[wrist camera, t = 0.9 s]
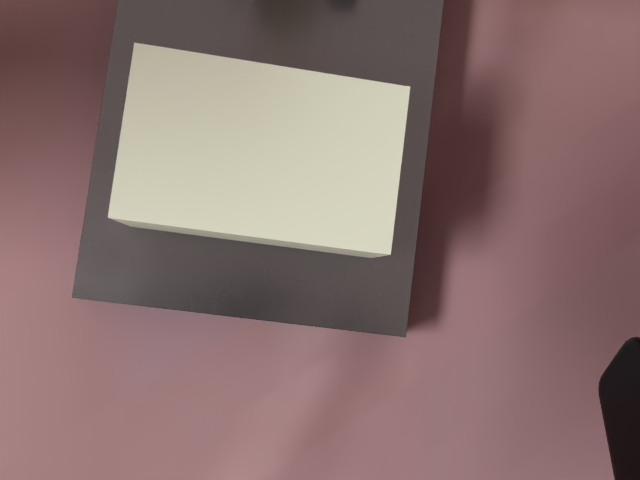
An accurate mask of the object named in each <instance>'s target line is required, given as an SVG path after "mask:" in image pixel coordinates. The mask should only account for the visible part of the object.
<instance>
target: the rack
mask: <svg viewBox="0 0 640 480" xmlns="http://www.w3.org/2000/svg"><path fill="white" fill-rule="evenodd" d="M443 5H444V0H118V4H117V10H116V16H115V23H114V29H113V36H112V42H111V49H110V55H109V61H108V68H107V74H106V81H105V87H104V94H103V100H102V106H101V113H100V119H99V126H98V132H97V139H96V145H95V151H94V158H93V164H92V171H91V177H90V184H89V190H88V196H87V203H86V209H85V216H84V222H83V229H82V235H81V241H80V248H79V254H78V261H77V267H76V274H75V280H74V286H73V293H72V298H79V299H87V300H96V301H104V302H113V303H121V304H130V305H138V306H146V307H155V308H163V309H172V310H180V311H189V312H197V313H206V314H214V315H222V316H231V317H239V318H248V319H256V320H265V321H273V322H282V323H290V324H298V325H307V326H315V327H324V328H332V329H341V330H349V331H358V332H366V333H374V334H383V335H391V336H400V337H406V331H407V322H408V314H409V305H410V296H411V287H412V278H413V269H414V261H415V252H416V243H417V234H418V225H419V216H420V208H421V199H422V190H423V181H424V172H425V164H426V155H427V146H428V137H429V128H430V119H431V111H432V102H433V93H434V84H435V75H436V66H437V58H438V49H439V40H440V31H441V22H442V13H443ZM134 43H140V44H147V45H153V46H159V47H165V48H172V49H178V50H184V51H190V52H197V53H203V54H209V55H215V56H222V57H228V58H234V59H240V60H247V61H253V62H259V63H265V64H272V65H278V66H284V67H290V68H297V69H303V70H309V71H315V72H321V73H328V74H334V75H340V76H346V77H353V78H359V79H365V80H371V81H378V82H384V83H390V84H396V85H403V86H409V87H410V94H409V102H408V111H407V120H406V128H405V137H404V145H403V154H402V163H401V171H400V180H399V188H398V197H397V206H396V214H395V223H394V231H393V240H392V249H391V255H387V256H381V257H375V258H366V257H359V256H351V255H344V254H336V253H328V252H321V251H313V250H305V249H298V248H290V247H282V246H275V245H267V244H259V243H252V242H244V241H236V240H229V239H221V238H214V237H206V236H198V235H191V234H183V233H175V232H168V231H160V230H152V229H145V228H137V227H130V226H128V225H125V224H123V223H120V222H118V221H115V220H112V219H110V218H108V212H109V205H110V198H111V192H112V185H113V179H114V172H115V166H116V159H117V153H118V146H119V140H120V133H121V126H122V120H123V113H124V107H125V100H126V94H127V87H128V81H129V74H130V67H131V61H132V54H133V48H134Z"/></svg>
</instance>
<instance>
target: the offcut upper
mask: <svg viewBox="0 0 640 480" xmlns="http://www.w3.org/2000/svg"><path fill="white" fill-rule="evenodd" d="M409 94H410V87H409V86H403V85H396V84H390V83H384V82H378V81H371V80H365V79H359V78H353V77H346V76H340V75H334V74H328V73H321V72H315V71H309V70H303V69H297V68H290V67H284V66H278V65H272V64H265V63H259V62H253V61H247V60H240V59H234V58H228V57H222V56H215V55H209V54H203V53H197V52H190V51H184V50H178V49H172V48H165V47H159V46H153V45H147V44H140V43H134V48H133V54H132V61H131V67H130V74H129V81H128V87H127V94H126V100H125V107H124V113H123V120H122V126H121V133H120V140H119V146H118V153H117V159H116V166H115V172H114V179H113V185H112V192H111V198H110V205H109V212H108V218H110V219H112V220H115V221H118V222H120V223H128V224H135V225H143V226H150V227H158V228H166V229H173V230H181V231H188V232H196V233H204V234H211V235H219V236H227V237H234V238H242V239H249V240H257V241H265V242H272V243H280V244H288V245H295V246H303V247H310V248H318V249H326V250H333V251H341V252H349V253H356V254H364V255H371V256H379V257H381V256H387V255H391V249H392V240H393V231H394V223H395V214H396V206H397V197H398V188H399V180H400V171H401V163H402V154H403V145H404V137H405V128H406V120H407V111H408V102H409Z"/></svg>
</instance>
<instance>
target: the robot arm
mask: <svg viewBox="0 0 640 480" xmlns="http://www.w3.org/2000/svg"><path fill="white" fill-rule="evenodd" d="M599 398H600V404H601V409H602V414H603V420H604V425H605V430H606V436H607V441H608V446H609V452H610V457H611V462H612V468H613V473H614V478H615V480H640V337H634V338H631V339H629V340H627V341H626V342H625V343H624V344H623V346H622V347H621V349H620V350H619V351H618V353H617V354H616V356H615V357H614V359H613V360H612V361H611V363H610V364H609V366H608V367H607V369H606V370H605V371H604V373H603V374H602V376H601V379H600V382H599Z"/></svg>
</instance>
